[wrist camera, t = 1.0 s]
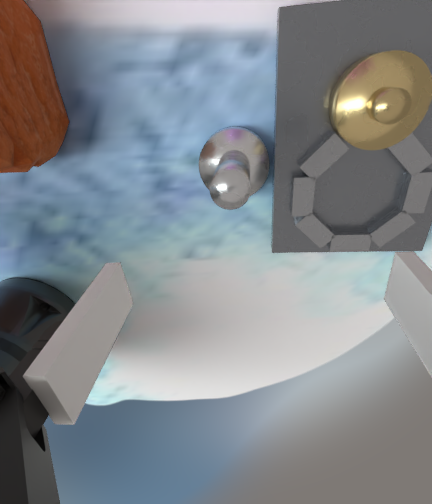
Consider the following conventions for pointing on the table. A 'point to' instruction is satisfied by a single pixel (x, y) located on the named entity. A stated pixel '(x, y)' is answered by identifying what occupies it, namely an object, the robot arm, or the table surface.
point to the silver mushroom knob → (233, 166)
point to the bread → (27, 92)
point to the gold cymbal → (381, 99)
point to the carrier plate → (336, 148)
